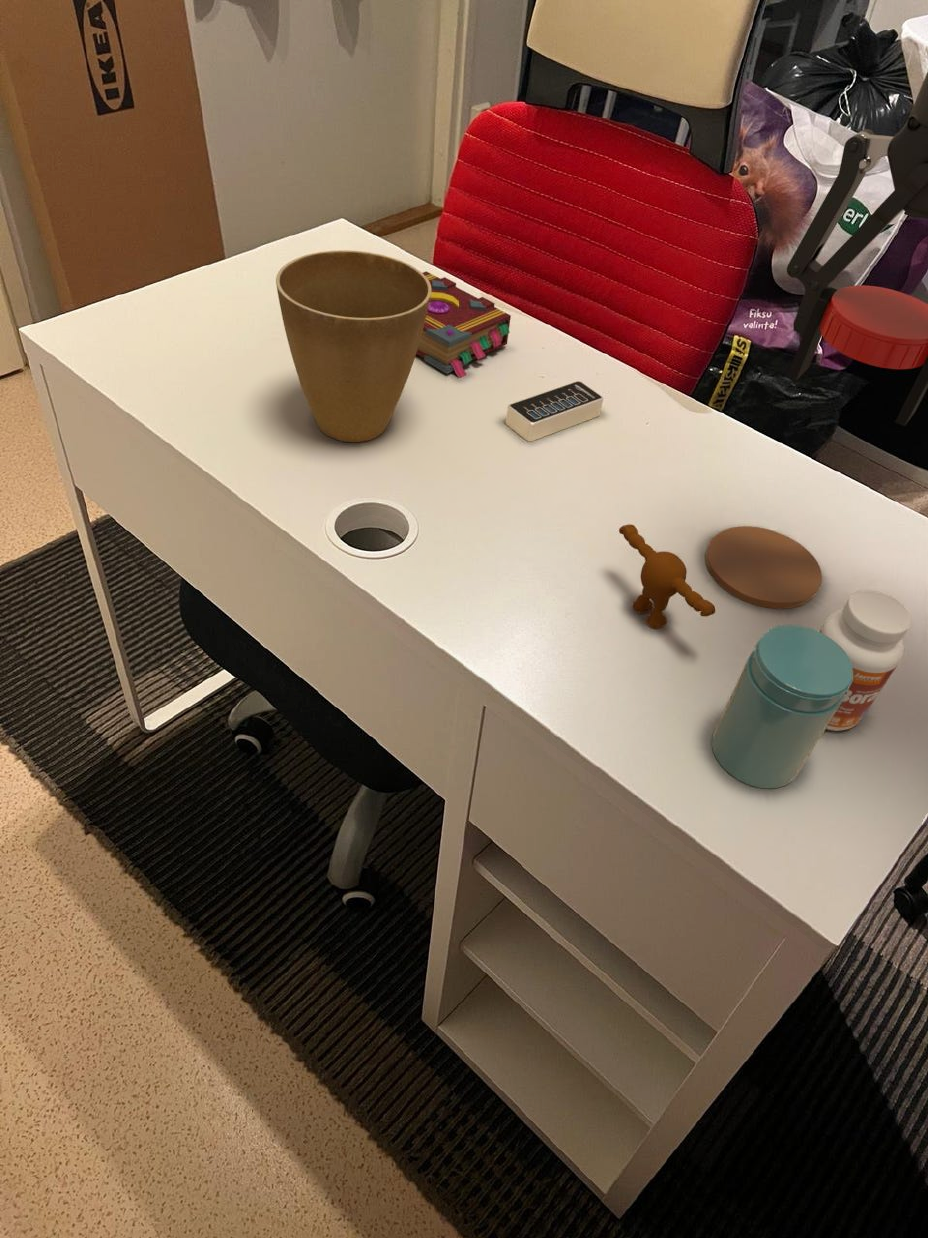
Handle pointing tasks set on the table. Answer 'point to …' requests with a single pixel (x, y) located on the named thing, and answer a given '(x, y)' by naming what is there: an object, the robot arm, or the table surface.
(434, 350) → the decorative book
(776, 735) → the jar
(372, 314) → the plant pot
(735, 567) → the coaster
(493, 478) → the table surface
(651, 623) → the toy figurine
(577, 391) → the multiport hub
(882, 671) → the pill bottle
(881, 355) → the cap
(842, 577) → the table surface
